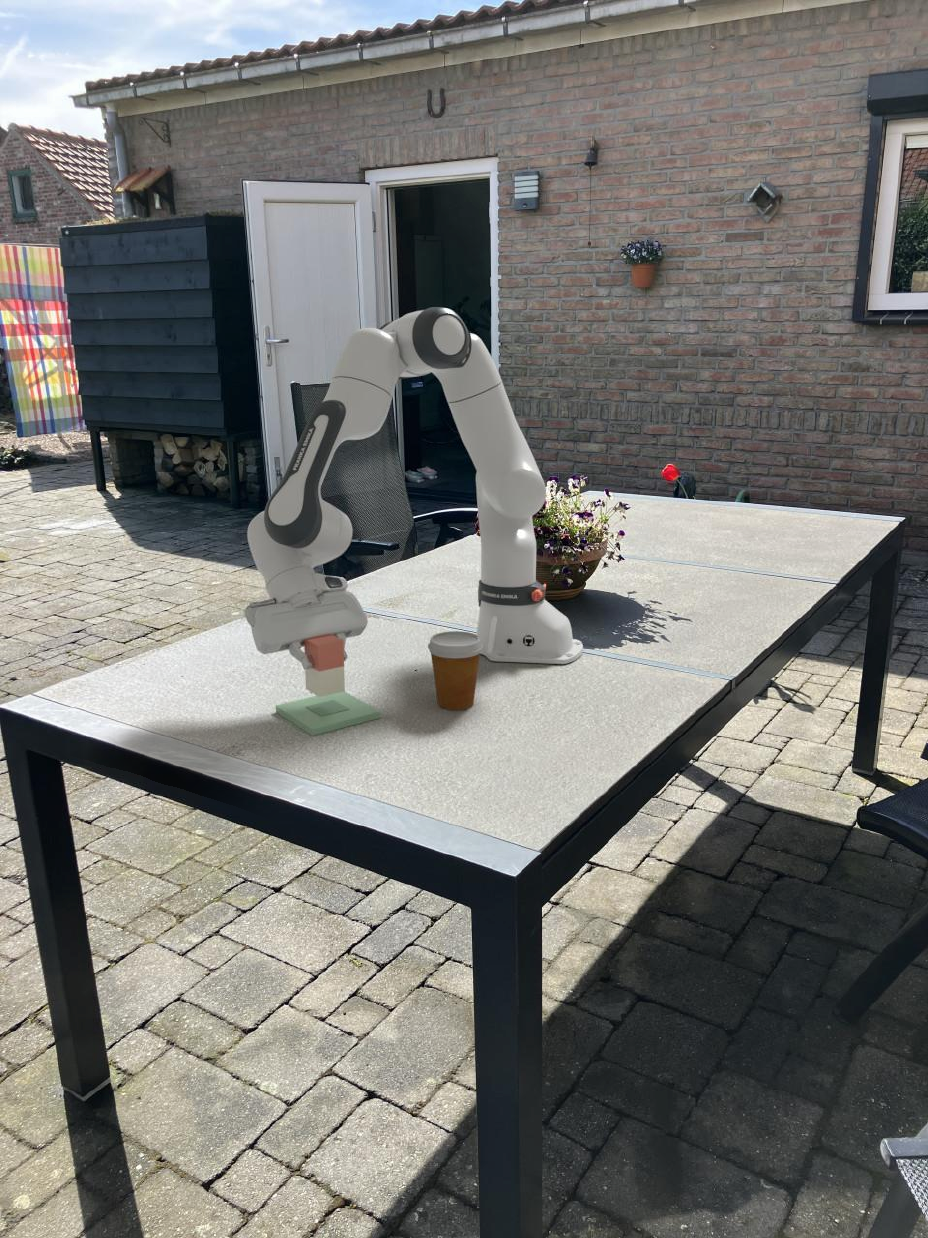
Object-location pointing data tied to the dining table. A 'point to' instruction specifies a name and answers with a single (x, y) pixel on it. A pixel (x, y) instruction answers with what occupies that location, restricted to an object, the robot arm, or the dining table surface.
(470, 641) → the disposable coffee cup
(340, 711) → the baseplate
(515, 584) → the robot arm
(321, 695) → the pink and cream block
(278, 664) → the dining table surface
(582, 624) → the dining table surface
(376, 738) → the dining table surface
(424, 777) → the dining table surface
